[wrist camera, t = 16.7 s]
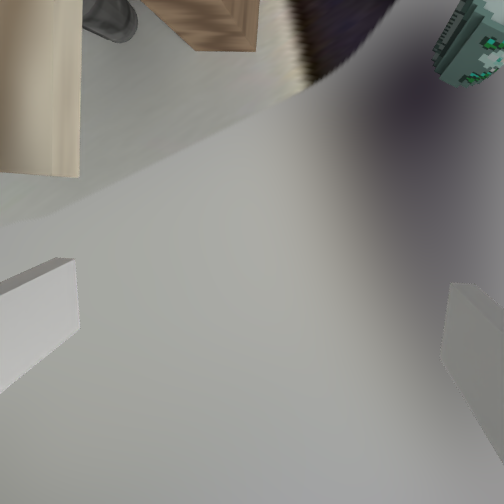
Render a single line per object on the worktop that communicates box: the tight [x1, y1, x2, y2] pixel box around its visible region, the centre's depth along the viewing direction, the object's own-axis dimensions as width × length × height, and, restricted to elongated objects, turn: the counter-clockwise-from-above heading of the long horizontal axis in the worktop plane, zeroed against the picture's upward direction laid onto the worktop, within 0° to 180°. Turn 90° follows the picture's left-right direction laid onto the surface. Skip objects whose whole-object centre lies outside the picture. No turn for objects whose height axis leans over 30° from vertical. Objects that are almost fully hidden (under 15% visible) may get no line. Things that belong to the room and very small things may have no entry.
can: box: [432, 0, 504, 88], centre depth 36 cm, size 6×6×15 cm
